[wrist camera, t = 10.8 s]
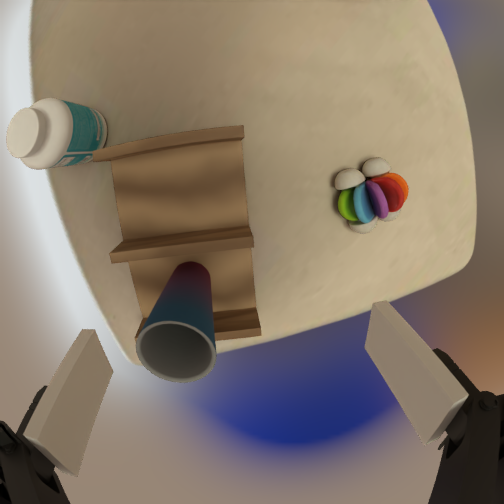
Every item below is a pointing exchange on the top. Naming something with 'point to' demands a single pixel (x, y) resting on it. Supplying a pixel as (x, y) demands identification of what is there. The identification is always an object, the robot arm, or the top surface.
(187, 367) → the cup
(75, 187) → the top surface
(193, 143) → the rack
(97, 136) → the pill bottle
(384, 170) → the rainbow disc stack
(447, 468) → the robot arm
